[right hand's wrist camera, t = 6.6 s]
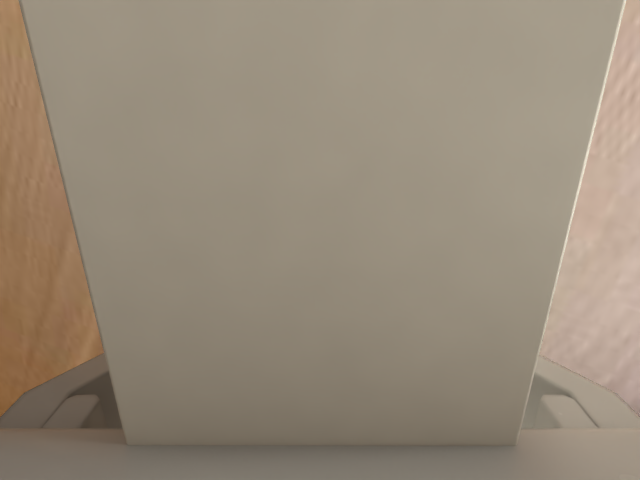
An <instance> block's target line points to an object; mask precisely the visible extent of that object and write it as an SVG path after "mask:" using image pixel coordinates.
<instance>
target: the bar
mask: <svg viewBox="0 0 640 480" xmlns="http://www.w3.org/2000/svg"><path fill="white" fill-rule="evenodd" d="M625 3H626V0H19V4H20V8H21V12H22V16H23V20H24V24H25V29H26V33H27V37H28V41H29V45H30V49H31V53H32V57H33V61H34V66H35V70H36V74H37V78H38V82H39V86H40V90H41V94H42V99H43V103H44V107H45V111H46V115H47V119H48V123H49V127H50V131H51V136H52V140H53V144H54V148H55V152H56V156H57V160H58V164H59V169H60V173H61V177H62V181H63V185H64V189H65V193H66V197H67V201H68V206H69V210H70V214H71V218H72V222H73V226H74V230H75V234H76V239H77V243H78V247H79V251H80V255H81V259H82V263H83V267H84V271H85V276H86V280H87V284H88V288H89V292H90V296H91V300H92V304H93V309H94V313H95V317H96V321H97V325H98V329H99V333H100V337H101V341H102V346H103V350H104V354H105V358H106V362H107V366H108V370H109V374H110V379H111V383H112V387H113V391H114V395H115V399H116V403H117V407H118V412H119V416H120V420H121V424H122V428H123V432H124V436H125V440H126V444H127V445H255V446H515V445H517V442H518V438H519V434H520V430H521V426H522V422H523V418H524V414H525V410H526V406H527V402H528V398H529V394H530V389H531V385H532V381H533V377H534V373H535V369H536V365H537V361H538V357H539V353H540V349H541V345H542V341H543V337H544V333H545V328H546V324H547V320H548V316H549V312H550V308H551V304H552V300H553V296H554V292H555V288H556V284H557V280H558V276H559V272H560V267H561V263H562V259H563V255H564V251H565V247H566V243H567V239H568V235H569V231H570V227H571V223H572V219H573V215H574V211H575V206H576V202H577V198H578V194H579V190H580V186H581V182H582V178H583V174H584V170H585V166H586V162H587V158H588V154H589V150H590V145H591V141H592V137H593V133H594V129H595V125H596V121H597V117H598V113H599V109H600V105H601V101H602V97H603V93H604V89H605V85H606V80H607V76H608V72H609V68H610V64H611V60H612V56H613V52H614V48H615V44H616V40H617V36H618V32H619V28H620V24H621V19H622V15H623V11H624V7H625Z"/></svg>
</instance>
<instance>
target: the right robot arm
mask: <svg viewBox="0 0 640 480" xmlns="http://www.w3.org/2000/svg"><path fill="white" fill-rule="evenodd" d="M0 480H640V417H639V416H638V415H637V414H636V413H635V412H634V411H633V410H632V409H631V408H630V407H629V406H628V405H627V404H626V403H625V402H624V401H623V400H622V399H621V398H620V396H619V395H618V394H616V393H614V392H612V391H611V390H609V389H607V388H605V387H603V386H601V385H599V384H597V383H595V382H593V381H591V380H589V379H587V378H585V377H583V376H581V375H579V374H577V373H575V372H573V371H571V370H569V369H567V368H565V367H563V366H561V365H559V364H557V363H555V362H553V361H551V360H549V359H547V358H545V357H543V356H541V355H539V357H538V361H537V365H536V369H535V373H534V377H533V381H532V385H531V389H530V394H529V398H528V402H527V406H526V410H525V414H524V418H523V422H522V426H521V430H520V434H519V438H518V442H517V445H515V446H255V445H127V444H126V440H125V436H124V432H123V428H122V424H121V420H120V416H119V412H118V407H117V403H116V399H115V395H114V391H113V387H112V383H111V379H110V374H109V370H108V366H107V362H106V358H105V354H104V353H103V354H101V355H99V356H97V357H95V358H93V359H91V360H89V361H87V362H85V363H83V364H81V365H79V366H77V367H75V368H73V369H71V370H69V371H67V372H65V373H63V374H61V375H59V376H57V377H55V378H53V379H51V380H49V381H47V382H45V383H43V384H41V385H39V386H37V387H35V388H33V389H31V390H29V391H27V392H25V393H24V394H23V395H22V396H21V397H20V398H19V399H18V400H17V401H16V402H15V403H14V404H13V405H12V406H11V407H10V408H9V409H8V410H7V411H6V412H5V413H4V414H3V415H2V416H1V417H0Z"/></svg>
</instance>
